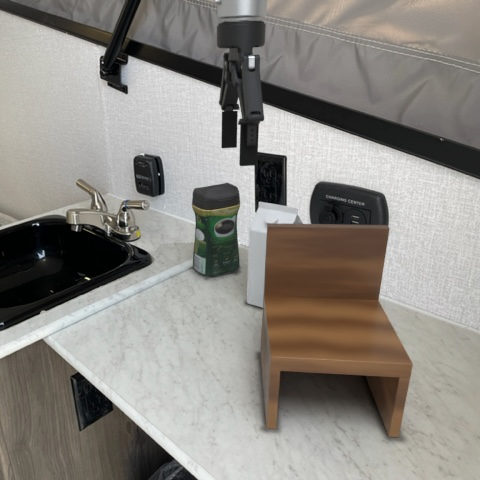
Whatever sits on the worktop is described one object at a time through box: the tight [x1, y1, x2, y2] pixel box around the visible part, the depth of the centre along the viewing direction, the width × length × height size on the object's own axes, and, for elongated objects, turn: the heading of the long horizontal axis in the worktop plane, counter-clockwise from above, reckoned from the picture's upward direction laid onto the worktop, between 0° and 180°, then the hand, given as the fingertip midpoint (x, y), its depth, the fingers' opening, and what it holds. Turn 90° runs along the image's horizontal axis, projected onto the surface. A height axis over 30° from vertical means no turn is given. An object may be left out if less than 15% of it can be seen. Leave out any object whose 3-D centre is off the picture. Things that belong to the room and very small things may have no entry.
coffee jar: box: [191, 182, 241, 278], centre depth 103 cm, size 10×8×19 cm
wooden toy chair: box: [259, 223, 414, 438], centre depth 65 cm, size 16×16×22 cm
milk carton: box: [246, 201, 304, 309], centre depth 90 cm, size 7×7×19 cm
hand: (237, 156), depth 85 cm, fingers open, 13 cm apart
